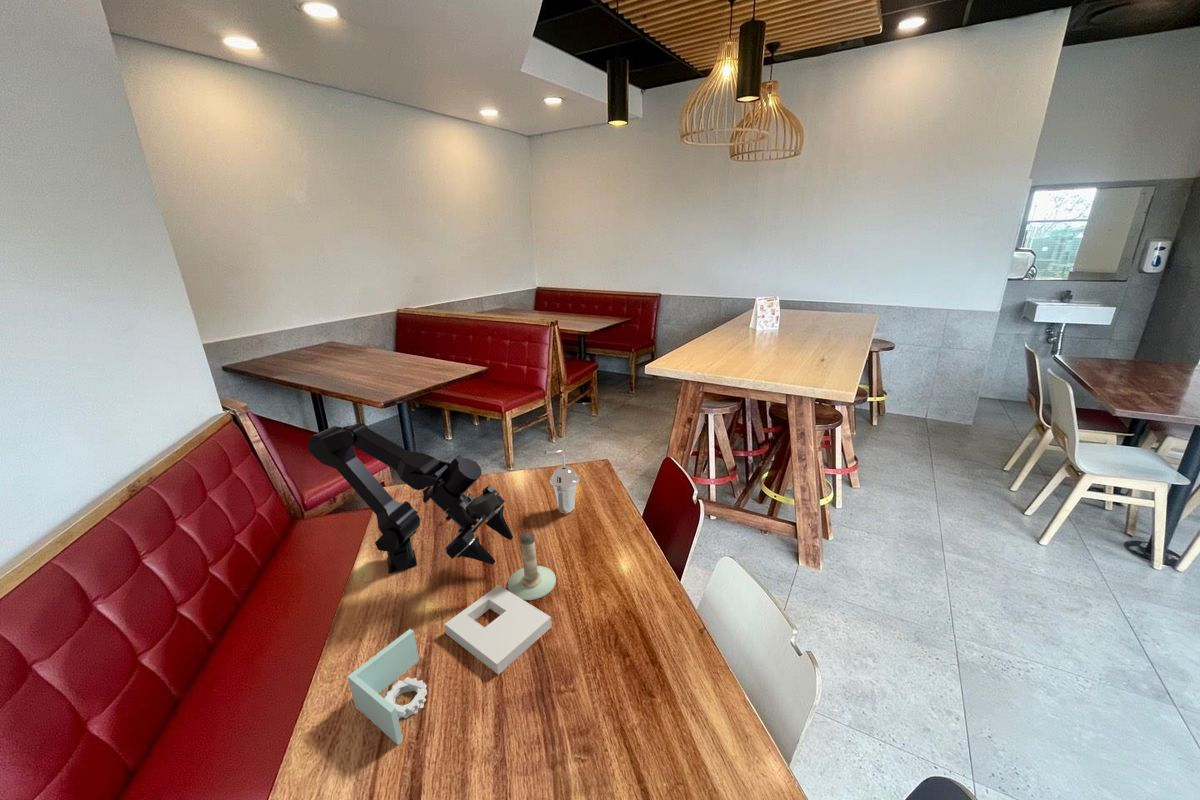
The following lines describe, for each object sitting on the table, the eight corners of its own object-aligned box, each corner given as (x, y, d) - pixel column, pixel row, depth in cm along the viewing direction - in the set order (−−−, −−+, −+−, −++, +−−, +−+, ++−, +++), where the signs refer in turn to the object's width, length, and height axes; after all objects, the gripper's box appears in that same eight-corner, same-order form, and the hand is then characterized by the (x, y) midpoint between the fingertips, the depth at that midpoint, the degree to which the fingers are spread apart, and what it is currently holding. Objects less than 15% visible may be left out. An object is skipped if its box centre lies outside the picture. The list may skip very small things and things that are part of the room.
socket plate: (446, 633, 95) (444, 624, 95) (499, 594, 106) (498, 584, 105) (498, 674, 86) (497, 664, 85) (551, 626, 96) (550, 616, 95)
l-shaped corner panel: (398, 747, 74) (390, 712, 72) (356, 709, 81) (347, 676, 78) (458, 689, 84) (453, 656, 82) (416, 659, 90) (410, 628, 88)
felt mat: (502, 576, 111) (501, 575, 111) (545, 562, 116) (545, 560, 116) (516, 606, 102) (515, 604, 102) (563, 589, 106) (563, 587, 106)
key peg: (519, 586, 107) (514, 541, 103) (526, 573, 111) (522, 529, 107) (537, 589, 106) (532, 543, 102) (544, 576, 110) (540, 532, 106)
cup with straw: (580, 517, 134) (576, 453, 128) (548, 518, 134) (543, 454, 128) (581, 502, 142) (578, 441, 136) (551, 502, 142) (547, 441, 136)
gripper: (451, 504, 95) (506, 558, 96) (493, 464, 113) (540, 510, 113) (423, 533, 100) (475, 584, 101) (467, 490, 117) (512, 534, 118)
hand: (503, 550), depth 108 cm, fingers open, 9 cm apart
